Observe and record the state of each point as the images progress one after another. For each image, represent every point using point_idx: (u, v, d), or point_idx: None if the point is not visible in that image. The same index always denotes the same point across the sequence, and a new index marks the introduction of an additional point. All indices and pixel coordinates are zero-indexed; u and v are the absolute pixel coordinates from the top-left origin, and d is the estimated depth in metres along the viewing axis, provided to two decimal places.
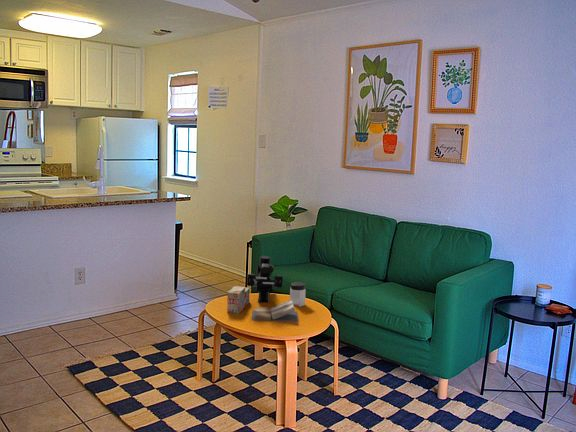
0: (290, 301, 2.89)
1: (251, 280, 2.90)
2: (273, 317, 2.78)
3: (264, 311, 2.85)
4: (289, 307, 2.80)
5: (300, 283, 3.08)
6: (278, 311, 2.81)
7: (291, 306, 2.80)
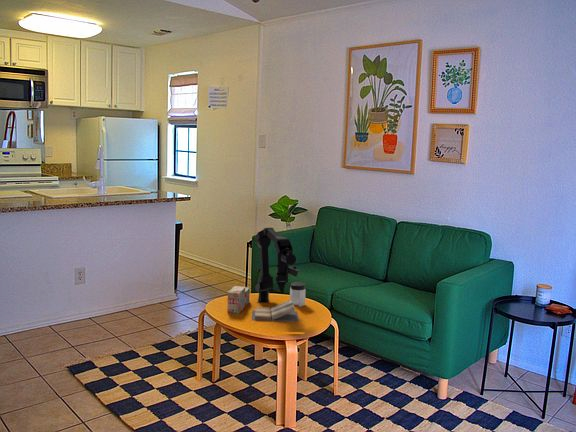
0: (290, 301, 2.89)
1: None
2: (273, 317, 2.78)
3: (264, 311, 2.85)
4: (289, 307, 2.80)
5: (300, 283, 3.08)
6: (278, 311, 2.81)
7: (291, 306, 2.80)
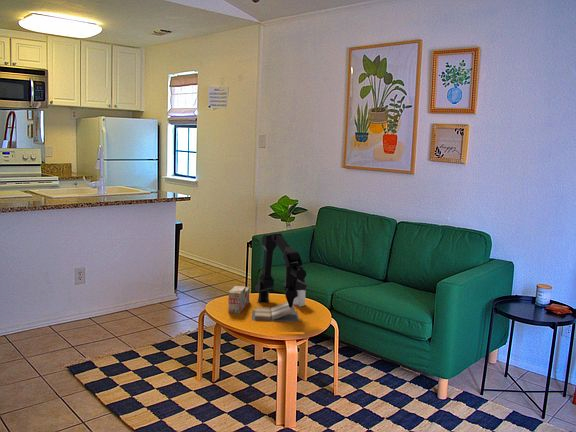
0: None
1: None
2: (273, 317, 2.78)
3: (264, 311, 2.85)
4: (289, 308, 2.80)
5: None
6: (278, 312, 2.81)
7: (292, 306, 2.80)
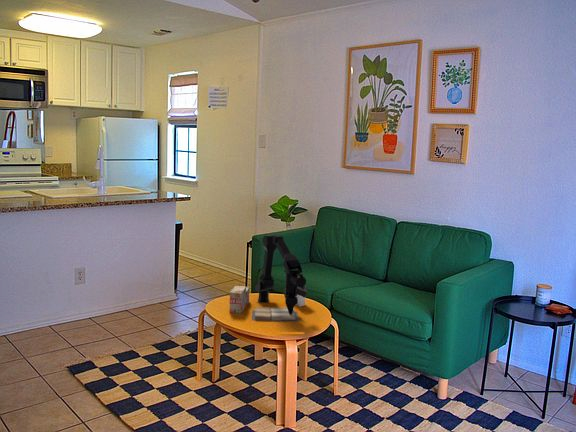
0: None
1: None
2: (272, 318, 2.78)
3: (264, 311, 2.85)
4: None
5: None
6: (279, 314, 2.81)
7: (293, 314, 2.81)
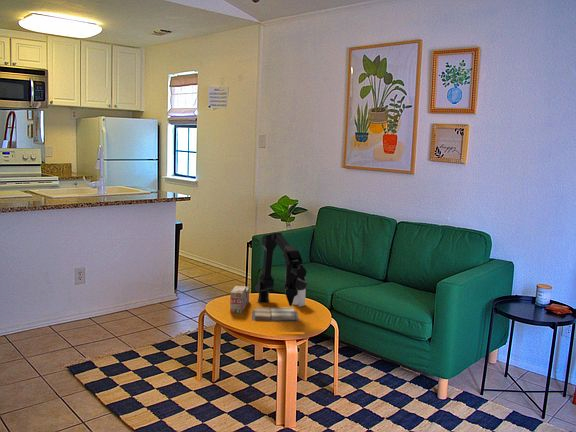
0: (292, 309, 2.89)
1: None
2: (272, 318, 2.78)
3: (264, 311, 2.85)
4: (291, 314, 2.81)
5: None
6: (279, 314, 2.81)
7: (293, 314, 2.81)
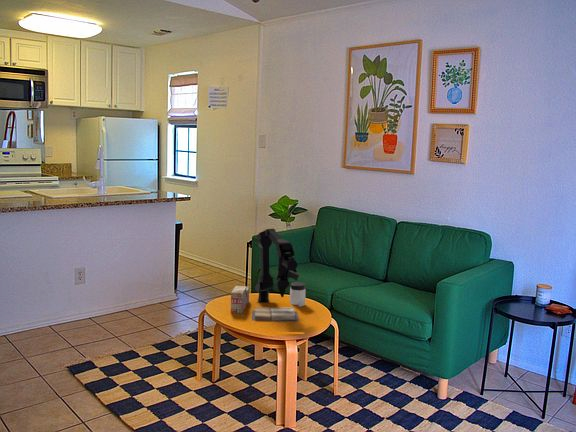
0: (292, 309, 2.89)
1: None
2: (272, 318, 2.78)
3: (264, 311, 2.85)
4: (291, 314, 2.81)
5: (300, 283, 3.08)
6: (279, 314, 2.81)
7: (293, 314, 2.81)
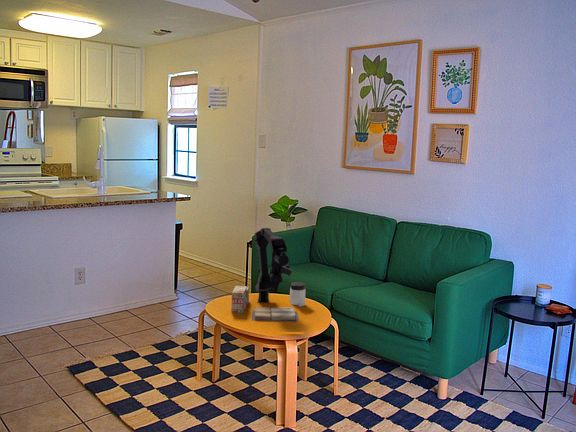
0: (292, 309, 2.89)
1: None
2: (272, 318, 2.78)
3: (264, 311, 2.85)
4: (291, 314, 2.81)
5: (300, 283, 3.08)
6: (279, 314, 2.81)
7: (293, 314, 2.81)
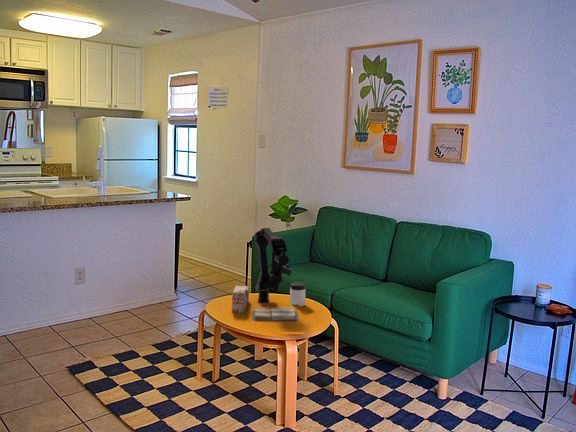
0: (292, 309, 2.89)
1: None
2: (272, 318, 2.78)
3: (264, 311, 2.85)
4: (291, 314, 2.81)
5: (300, 283, 3.08)
6: (279, 314, 2.81)
7: (293, 314, 2.81)
